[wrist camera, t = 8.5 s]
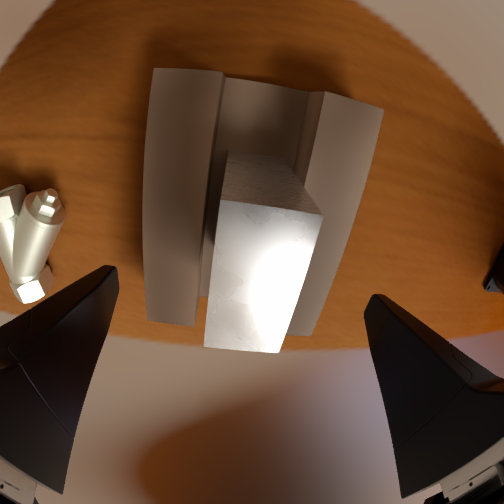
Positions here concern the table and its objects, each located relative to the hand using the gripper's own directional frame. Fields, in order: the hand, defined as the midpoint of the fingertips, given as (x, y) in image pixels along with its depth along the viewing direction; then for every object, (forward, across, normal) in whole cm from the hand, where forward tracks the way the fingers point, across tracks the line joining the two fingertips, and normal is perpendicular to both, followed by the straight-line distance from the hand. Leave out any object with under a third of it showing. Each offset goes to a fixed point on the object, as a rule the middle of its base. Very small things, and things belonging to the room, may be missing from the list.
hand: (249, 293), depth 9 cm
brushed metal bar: (+8, 0, 0) cm, 8 cm away
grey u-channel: (+9, 0, 0) cm, 9 cm away
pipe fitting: (+9, +14, +4) cm, 18 cm away
